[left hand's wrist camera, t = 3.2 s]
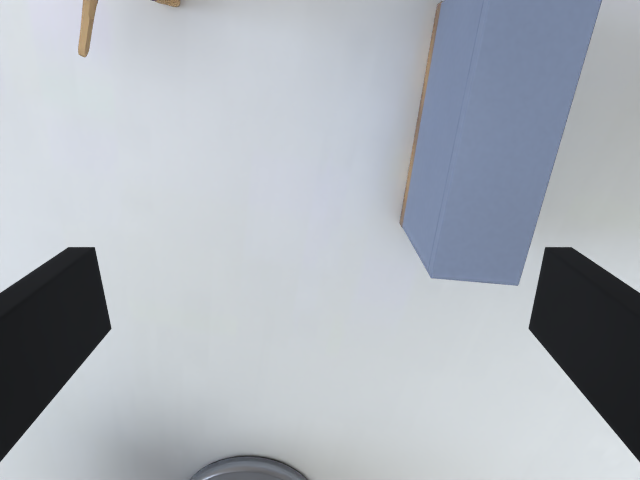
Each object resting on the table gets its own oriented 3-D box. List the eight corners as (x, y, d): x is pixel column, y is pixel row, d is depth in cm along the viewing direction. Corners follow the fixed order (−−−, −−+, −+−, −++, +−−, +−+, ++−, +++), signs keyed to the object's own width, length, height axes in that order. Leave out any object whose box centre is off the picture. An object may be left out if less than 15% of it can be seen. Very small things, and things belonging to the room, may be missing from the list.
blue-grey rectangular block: (437, 4, 30) (495, -34, 20) (513, 12, 30) (608, -21, 20) (399, 223, 35) (430, 278, 25) (463, 229, 36) (518, 286, 26)
